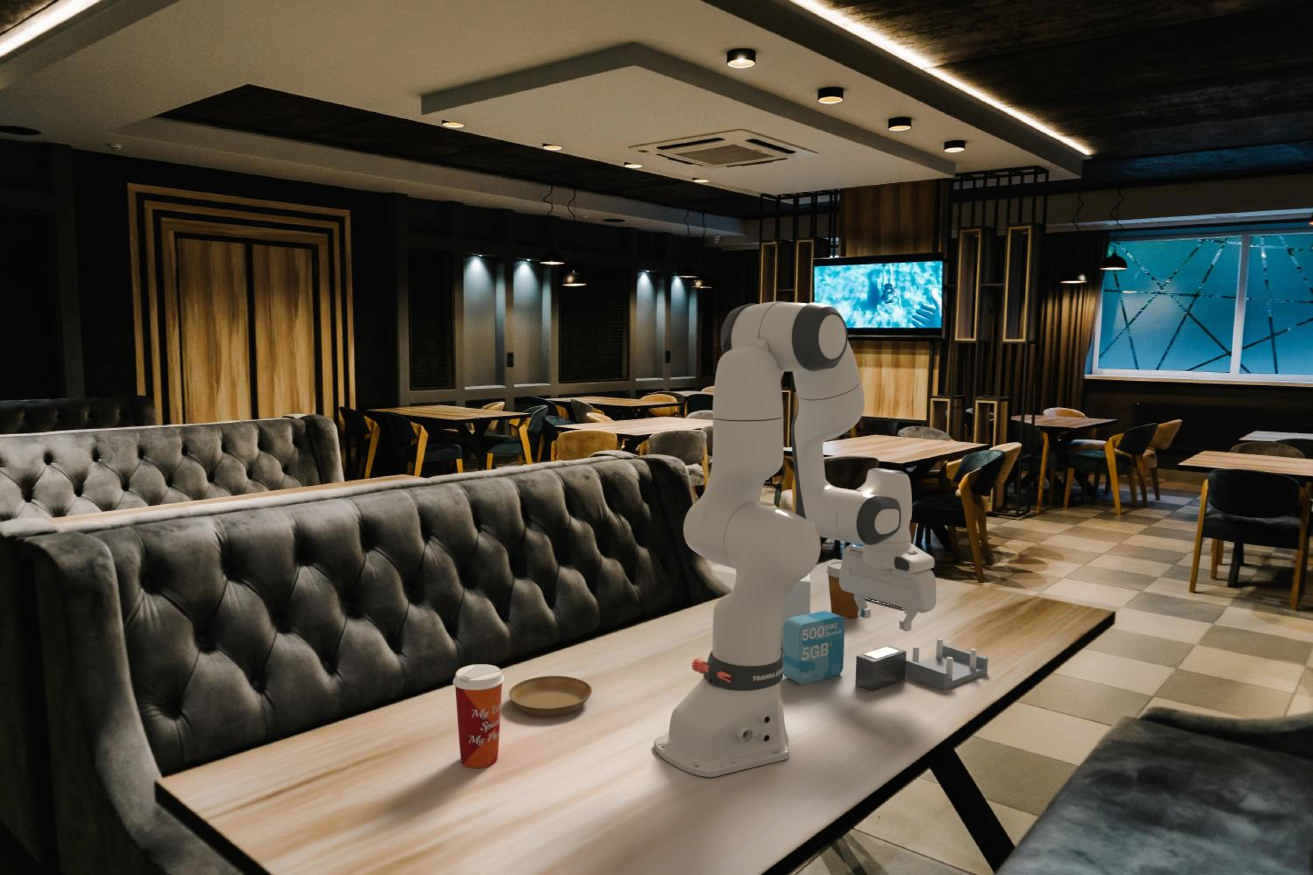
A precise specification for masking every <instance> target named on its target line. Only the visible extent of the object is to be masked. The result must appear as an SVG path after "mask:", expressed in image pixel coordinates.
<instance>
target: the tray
mask: <svg viewBox="0 0 1313 875" xmlns="http://www.w3.org/2000/svg"><path fill="white" fill-rule="evenodd" d="M969 650H970V651H967V650H964V649H961V648H958V647H955V646H951V645H949V644H945V643H944V639H943V638H936V653H935V656H932V657H930V658H926V659H923V660H921V661H920V647H919V646H917V645H913V646H912V659H909V658H906V673H905V678H908V679H911V680H914V681H917V682H920V683H923V684H926V685H928V686H931V687H934V688H937V689H939V690H943V691H945V690H948V689H949V690H950V689H951V688H953V687H956V686H958V685H961V684H963V683H966V682H969V681H971V680H974V679H976V678H980V677H982V676H984V675H986V674H988V667H989V666H988V664H989V662H988V661H989V657H986V656H983V655H981V654H977V653H978V649H976V648H970V649H969Z"/></svg>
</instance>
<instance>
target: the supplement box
mask: <svg viewBox="0 0 1313 875" xmlns="http://www.w3.org/2000/svg"><path fill="white" fill-rule="evenodd" d="M811 587H812V586H811V572H810V573H809V574H808V575H807V576H806V577H805V578H803V579H801V580H800V581H799V582H798V583H797V584H796V585H795V586H794V587H793V589H792V590H791V592H790V594H789V596H788V598H787V601H786V604H785V607H784V612H783V620H782V633H781V649H783V640H784V624H785V622H786V620H787V619H788V618H791V617H796V616H801V615H806V614H811V597H812V596H811V594H812V593H811V589H812V588H811Z"/></svg>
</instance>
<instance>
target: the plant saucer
mask: <svg viewBox="0 0 1313 875" xmlns="http://www.w3.org/2000/svg"><path fill="white" fill-rule="evenodd" d="M592 692H593V688H592V685H590V684H589V683H588V682H586V681H584V680H583V679H580V678H576V677H573V676H566V675H565V676H564V675H545V676H544V675H543V676H537V677H536V676H535V677H532V678H528V679H524V680H522V681H520V682H517V683H516V684H514V685H513V686H512V687H511V688H509V691H508V697H509V698H510V700H511V701H512V702H513V703H514V705H516V706H517V707H518V708H519V709H520V710H521V711H523V712H525V713H527V714H530V715H532V716H539V717H557V716H558V717H559V716H564V715H568V714H570V713H573V712H575V711H577V710H578V709H579V708H581V707H582V706H583V705H585V704H584V703H586V702H587V700H589V698H590V697H591V695H592V694H593V693H592Z"/></svg>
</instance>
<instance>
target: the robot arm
mask: <svg viewBox="0 0 1313 875" xmlns="http://www.w3.org/2000/svg"><path fill="white" fill-rule="evenodd" d="M848 339H849V335H848V328H847V324H846V322H845V320H844V318H843V316H842V314H840V312H839V311H838V310H837V308H835V307H833V306H831V305H830V304H829V305H828V304H825V303H820V302H809V303H804V302H803V303H802V302H787V301H780V300H779V301H770V302H769V301H768V302H763V303H759V304H756V303H748V304H745V305H742V306H741V305H740V306H738V307H736V308H734V309H732V310H731V311H730V312H729V313H728V315H727V316H726V318H725V320H724V322H723V325H722V328H721V333H720V347H721V350H722V351H721V352H722V355H721V357H720V358H719V360H718V362H717V368H716V373H715V380H714V386H713V397H712V398H713V399H712V460H711V461H712V462H711V467H710V468H711V470H710V474H709V478H708V481H707V483H706V484H707V485H706V487H705V490H704V492H703V494H702V495H701V496H700V498H699V499H698V500H697V501H695V502H694V503H693V504H692V506H690V508H689V509H688V511H687V513H686V514H685V516H684V517H685V518H684V522H683V528H682V529H683V530H682V531H683V537H684V540H685V543H686V544H687V546H688V547H689V548H690V549H691V550H692V551H694V552H695V553H696V554H698V555H699V556H701V557H702V558H703V559H705V560H707V561H709V562H711V563H714V564H717V565H721V566H723V567H724V566H725V567H728V568H732V569H733V570H735V574H736V576H735V582H734V586H733V588H732V591H731V592H730V593H727V594H726V595H724V596H722V597H721V598H720V599H719V600H717V602H716V603H715V605H714V608H713V611H712V649H711V651H710V652H709V655H708V658H707V661H704V660H702V659H701V658H695V659H693V660H692V662H691V665H690V666H691V669H692V671H694V672H698V673H699V674H700V675H701V674H702V676H703V678H701V680H700V681H699V682H698V683H697V684H696V685H695V686H694V687H693V688H692V690H690V692H689V693H688V694H687V695H686V696H685V697H684V698H683V699H682V700H681V701H680V702H679V703H678V704H677V705H676V706H675V707H674V708H673V710H672V713H671V716H670V721H669V727H668V728H669V729H668V732H667V733H664V734H663V735H660V736H659V737H657V738H655V739H654V742H653V747H654V750H655V752H656V753H657V754H658V755H659V757H661V758H662V759H663V760H664V761H666V762H668V763H669V764H671V765H673V766H674V767H676V768H679V769H680V770H682V771H685V772H686V773H687V772H688V773H689V774H693V775H696V776H701V777H705V778H713V777H718V776H722V775H725V774H730V773H735V772H739V771H743V770H747V769H752V768H756V767H759V766H763V765H767V764H773V763H775V762H781V761H785V760H787V759H789V758H790V752H789V747H788V744H789V741H790V740H789V737H788V733H787V728H786V723H785V712H784V703H783V695H782V687H781V681H782V680H783V679H784V674H783V670H784V666H783V653H781V652H782V648H781V633H782V620H783V612H784V607H785V604H786V601H787V598H788V596H789V594H790V592H791V590H792V589H793V587H794V586H795V585H796V584H797V583H798V582H799V581H800V580H801V579H803V578H805V577H806V576H807V575H808V574H809V573H810V574H811V573H812V571H813V570H814V569H815V567H816V565H817V564H818V561H819V558H820V555H821V548H822V547H821V545H822V544H821V539H831V540H835V541H839V542H840V541H841V542H844V543H852V544H849V545H847V546H846V547H844V548H843V550H842V558H841V559H842V560H841V561H842V564H841V569H840V577H839V585H840V587H841V589H842V590H843V591H846V592H850V593H853V594H854V599H855V601H856V604H857V606H858V608H859V612H858V616H859V618H863V619H870V618H871V615H872V614H871V612H872V609H871V608H870V607H868V605H867V602H866V601H867V600H865V599H866V598H871V599H874V600H878V601H881V602H885V603H888V604H892V605H895V606H898V607H902V608H904V609H903V610H904V614H905V615H906V616H905V618H903V619H902V620H901V619H900V620H899V622H898V623H899V628H898V629H900V630H901V631H904V632H910V631H911V630H912V624H913V623H912V621H914V619H915V617H916V616H917V615H918V613H920V614H924V613H928V612H930V611H932V610H934V608H935V607H936V605H937V581H936V576H935V574H934V572H933V571H932V570H931V569H932V568H933V569H934V567H935V558H934V557H933V556H932V555H930V554H929V553H927V552H925V551H923V550H922V549H920V548H919V547H917V546H916V545H915V544H913V543H912V535H911V531H910V523H911V520H912V514H913V513H912V512H913V503H912V502H913V500H912V486H911V480H910V478H909V475H908V474H907V473H905V472H904V471H901V470H894V469H886V468H878V467H875V468H874V467H873V468H871V469H868V471H867V474H866V479H865V482H864V483H863V484H862V485H861V486H860V487H858V488H856V489H848V488H842V487H837V486H834V485H832V484H831V483H830V482H829V481H828V480H827V478H826V471H825V470H826V469H825V459H824V449H823V448H824V447H823V446H824V443H825V442H827V441H829V440H833V439H835V438H838V437H839V436H842V435H844V434H845V433H848V431H850V430H851V429H852V428H854V427H855V425H857V424H858V423H859V422H860V420H861V418H862V416H863V414H864V411H865V405H866V398H865V392H864V389H863V388H864V386H863V383H862V379H861V375H860V372H859V371H860V370H859V367H858V364H857V360H856V358H855V355H854V351H853V349H852V347H851V344H850V342H849V340H848ZM785 372H792V377H793V381H794V388H795V392H796V396H797V401H798V412H797V413H796V414H795V415H794V417H793V419H792V421H791V425H790V426H791V428H790V440H791V441H790V443H791V454H792V464H793V471H794V472H793V473H794V474H793V475H794V482H795V484H794V485H795V494H796V495H795V506H794V507H795V508H794V512H793V511H790V510H788V509H784V508H779V507H774V506H769V505H764V504H761V496H762V495H761V494H762V490H763V487H764V484H765V482H766V480H768V479H769V478H772V477H773V476H774V475H775V474H777V473H778V472H779V471H780V469H781V468H782V466H783V463H784V403H783V390H782V389H783V388H782V383H781V380H782V379H783V378H782V377H783V376H784V373H785ZM854 544H857V545H862V546H857V545H854Z"/></svg>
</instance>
